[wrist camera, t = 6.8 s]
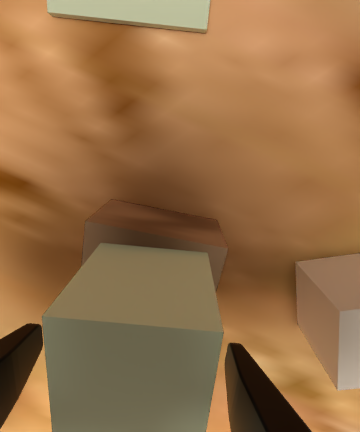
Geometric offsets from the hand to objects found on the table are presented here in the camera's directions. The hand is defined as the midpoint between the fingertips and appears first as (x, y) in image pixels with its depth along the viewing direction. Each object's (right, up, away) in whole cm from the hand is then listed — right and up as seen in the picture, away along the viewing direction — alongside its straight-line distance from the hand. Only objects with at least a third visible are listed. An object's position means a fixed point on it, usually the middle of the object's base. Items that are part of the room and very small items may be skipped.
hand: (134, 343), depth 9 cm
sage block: (0, +1, +3) cm, 3 cm away
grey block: (+11, 0, +7) cm, 13 cm away
